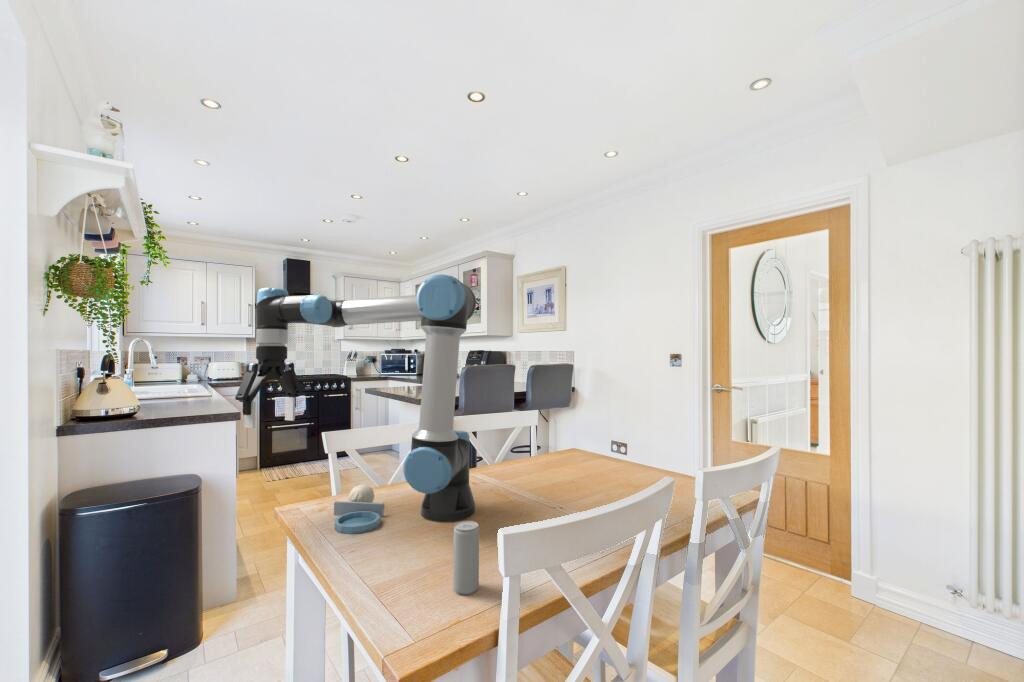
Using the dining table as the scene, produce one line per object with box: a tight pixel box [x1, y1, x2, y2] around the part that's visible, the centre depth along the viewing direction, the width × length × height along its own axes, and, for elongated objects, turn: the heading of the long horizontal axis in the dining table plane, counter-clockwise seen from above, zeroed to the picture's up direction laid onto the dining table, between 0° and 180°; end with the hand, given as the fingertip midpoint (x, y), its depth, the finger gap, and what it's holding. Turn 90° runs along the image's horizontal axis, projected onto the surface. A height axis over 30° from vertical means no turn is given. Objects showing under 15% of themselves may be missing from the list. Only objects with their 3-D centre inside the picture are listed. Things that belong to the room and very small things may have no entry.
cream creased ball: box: [347, 484, 375, 503], centre depth 128 cm, size 7×7×7 cm
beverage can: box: [452, 520, 480, 596], centre depth 84 cm, size 5×5×12 cm
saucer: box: [334, 511, 381, 535], centre depth 115 cm, size 11×11×2 cm
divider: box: [333, 500, 385, 518], centre depth 123 cm, size 14×1×4 cm, turn 83°
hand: (270, 423), depth 120 cm, fingers open, 13 cm apart
